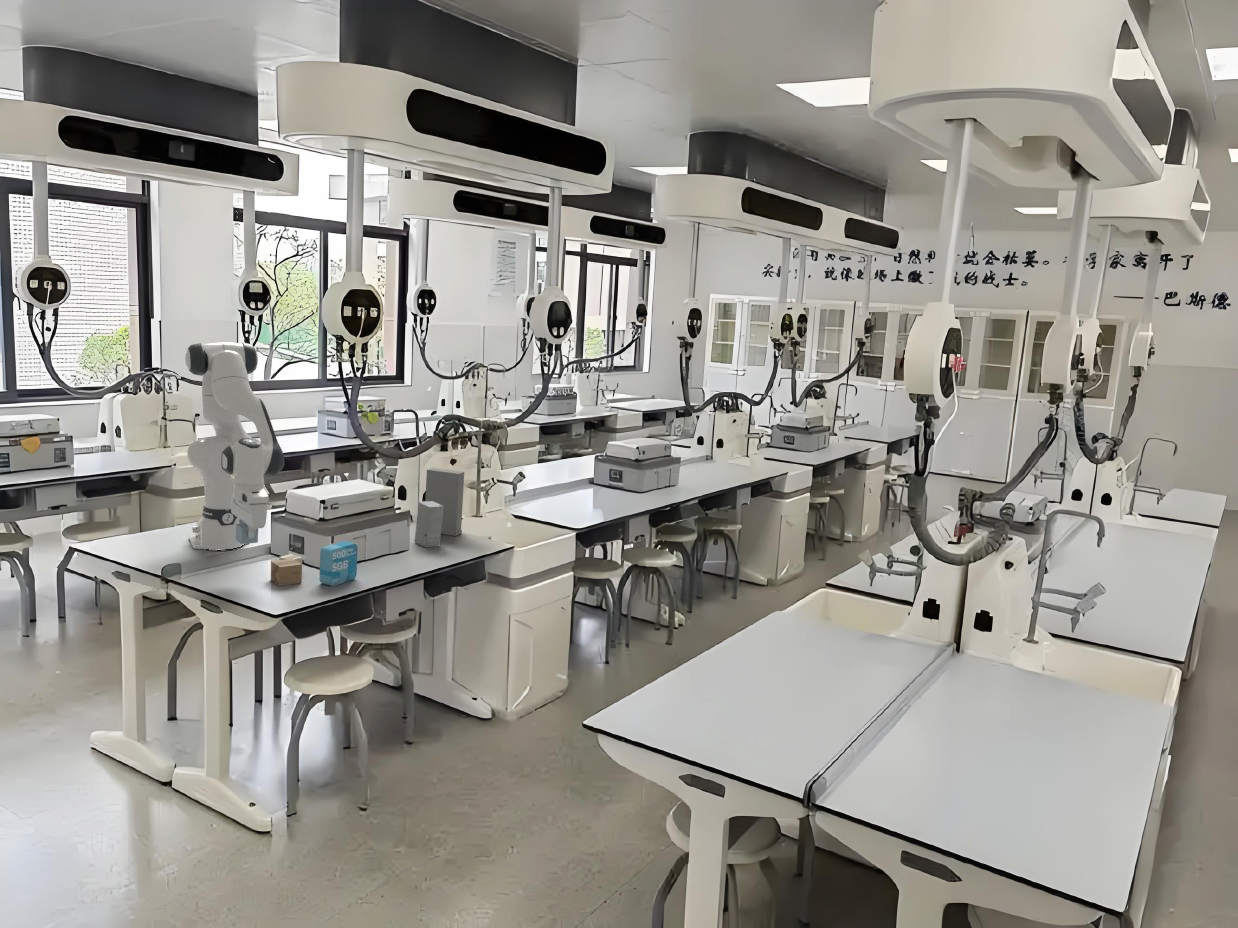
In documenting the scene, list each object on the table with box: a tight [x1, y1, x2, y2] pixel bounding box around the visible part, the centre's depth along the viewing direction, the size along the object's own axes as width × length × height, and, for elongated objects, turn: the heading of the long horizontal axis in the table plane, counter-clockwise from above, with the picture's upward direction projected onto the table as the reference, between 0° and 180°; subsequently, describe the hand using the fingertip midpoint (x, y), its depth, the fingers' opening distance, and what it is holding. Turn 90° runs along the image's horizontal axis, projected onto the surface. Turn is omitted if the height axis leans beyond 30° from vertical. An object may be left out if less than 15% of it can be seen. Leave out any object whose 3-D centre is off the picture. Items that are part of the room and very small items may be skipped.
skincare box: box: [414, 501, 444, 548], centre depth 343 cm, size 8×7×16 cm
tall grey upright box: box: [424, 467, 465, 537], centre depth 361 cm, size 14×6×25 cm, turn 77°
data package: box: [318, 541, 358, 587], centre depth 291 cm, size 12×4×12 cm, turn 153°
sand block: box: [278, 553, 303, 565], centre depth 298 cm, size 5×5×5 cm
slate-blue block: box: [236, 523, 259, 545], centre depth 284 cm, size 5×5×5 cm
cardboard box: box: [270, 559, 303, 587], centre depth 288 cm, size 7×7×6 cm
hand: (246, 535), depth 284 cm, fingers closed on slate-blue block, 5 cm apart
